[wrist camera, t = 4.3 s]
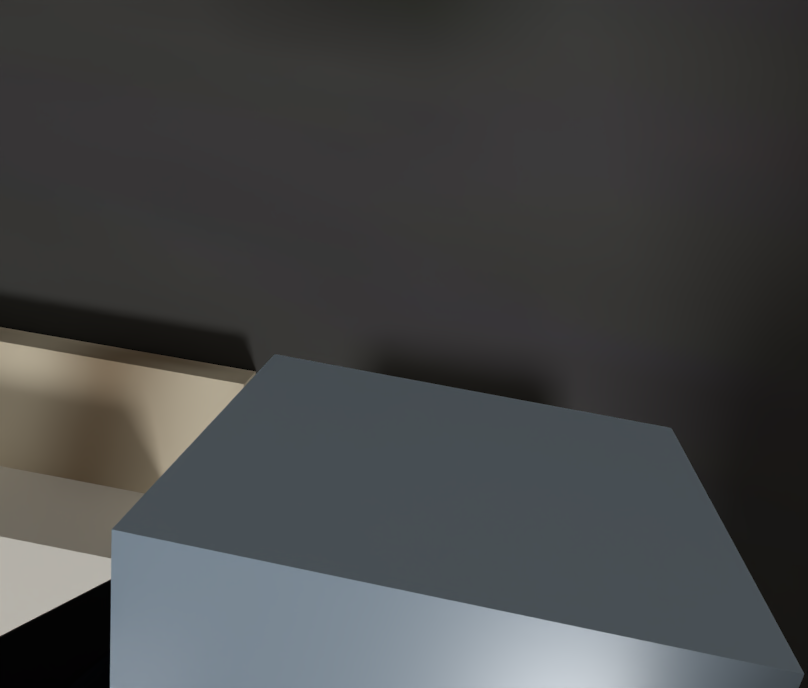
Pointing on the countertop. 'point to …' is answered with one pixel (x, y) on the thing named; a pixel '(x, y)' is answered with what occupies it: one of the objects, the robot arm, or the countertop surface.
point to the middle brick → (430, 550)
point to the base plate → (103, 408)
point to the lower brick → (53, 541)
